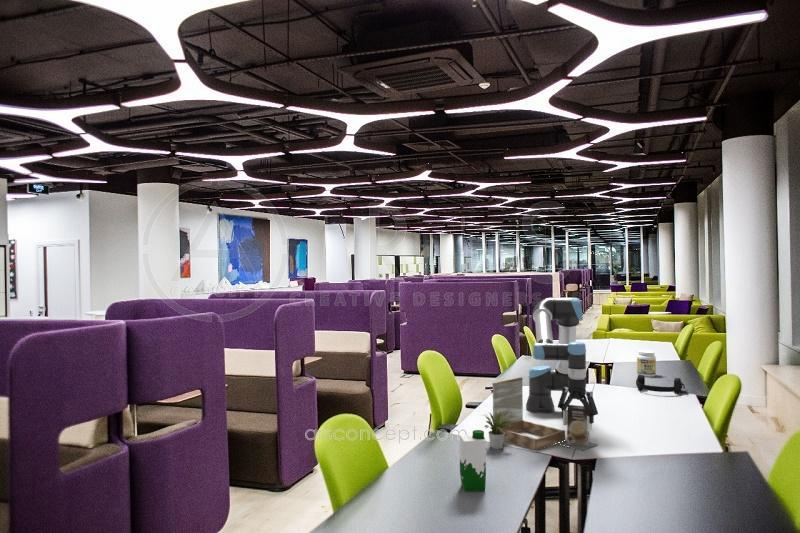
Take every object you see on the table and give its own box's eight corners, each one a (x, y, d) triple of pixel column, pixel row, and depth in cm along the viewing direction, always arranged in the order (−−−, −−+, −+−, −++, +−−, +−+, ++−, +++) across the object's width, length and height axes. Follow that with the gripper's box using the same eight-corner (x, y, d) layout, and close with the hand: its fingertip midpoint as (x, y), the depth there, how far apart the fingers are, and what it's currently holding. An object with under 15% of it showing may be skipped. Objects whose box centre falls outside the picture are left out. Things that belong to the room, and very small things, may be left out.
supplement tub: (639, 376, 402) (639, 352, 402) (635, 373, 414) (635, 349, 414) (658, 377, 400) (657, 352, 400) (653, 374, 412) (653, 350, 412)
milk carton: (488, 492, 202) (487, 434, 202) (462, 493, 202) (462, 435, 202) (482, 482, 211) (482, 427, 211) (458, 483, 210) (457, 428, 210)
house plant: (491, 454, 242) (491, 415, 242) (472, 445, 254) (472, 408, 254) (518, 449, 248) (518, 411, 248) (498, 440, 260) (498, 404, 260)
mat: (557, 444, 255) (557, 443, 255) (573, 439, 262) (573, 437, 262) (581, 451, 245) (581, 449, 245) (597, 445, 253) (597, 443, 253)
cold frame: (493, 436, 267) (492, 382, 267) (521, 428, 279) (520, 377, 279) (537, 450, 247) (536, 391, 247) (565, 440, 260) (564, 385, 260)
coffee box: (566, 444, 252) (566, 408, 252) (567, 440, 258) (567, 404, 258) (588, 446, 249) (588, 409, 249) (589, 442, 255) (589, 406, 255)
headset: (674, 387, 370) (674, 373, 370) (693, 396, 344) (693, 381, 344) (630, 386, 372) (629, 373, 372) (645, 396, 346) (645, 381, 346)
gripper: (549, 375, 260) (549, 423, 261) (596, 383, 242) (596, 435, 242) (559, 372, 265) (559, 420, 265) (606, 380, 247) (606, 431, 247)
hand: (577, 427), depth 254 cm, fingers open, 11 cm apart
